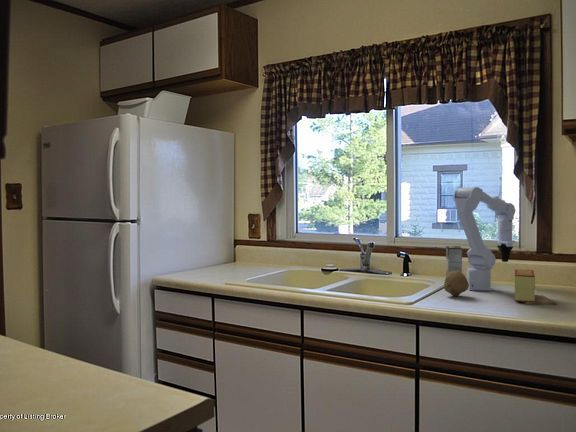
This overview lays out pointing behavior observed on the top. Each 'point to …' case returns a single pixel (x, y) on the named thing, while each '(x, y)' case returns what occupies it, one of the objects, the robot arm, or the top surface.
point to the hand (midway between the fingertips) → (504, 261)
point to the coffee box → (453, 259)
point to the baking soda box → (524, 285)
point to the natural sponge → (455, 283)
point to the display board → (541, 301)
